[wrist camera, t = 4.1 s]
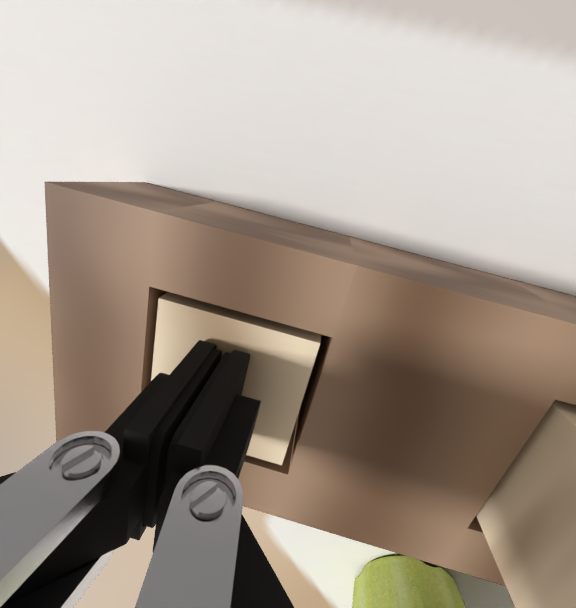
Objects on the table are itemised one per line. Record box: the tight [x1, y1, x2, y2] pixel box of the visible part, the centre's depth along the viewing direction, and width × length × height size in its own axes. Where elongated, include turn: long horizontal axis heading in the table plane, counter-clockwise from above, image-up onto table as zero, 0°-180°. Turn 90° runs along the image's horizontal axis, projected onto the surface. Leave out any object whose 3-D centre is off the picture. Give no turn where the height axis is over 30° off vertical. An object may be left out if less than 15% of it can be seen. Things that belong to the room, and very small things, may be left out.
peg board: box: [45, 182, 576, 586], centre depth 12 cm, size 24×10×5 cm, turn 76°
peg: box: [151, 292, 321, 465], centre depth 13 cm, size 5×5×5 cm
